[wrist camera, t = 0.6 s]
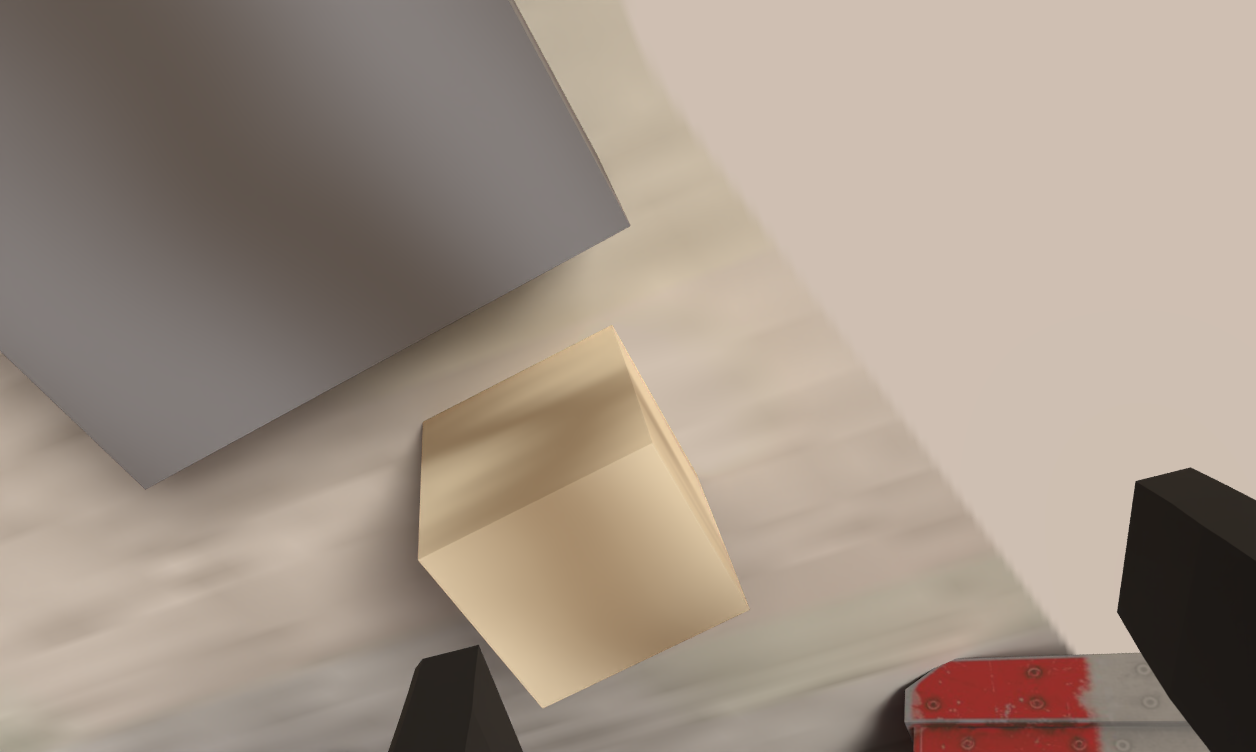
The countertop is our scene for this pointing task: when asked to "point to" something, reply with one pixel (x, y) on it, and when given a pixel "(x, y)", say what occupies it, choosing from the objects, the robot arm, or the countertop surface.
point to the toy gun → (1046, 707)
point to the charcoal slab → (267, 200)
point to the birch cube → (571, 522)
